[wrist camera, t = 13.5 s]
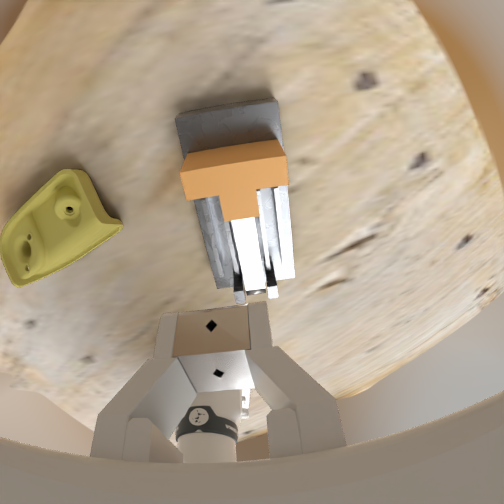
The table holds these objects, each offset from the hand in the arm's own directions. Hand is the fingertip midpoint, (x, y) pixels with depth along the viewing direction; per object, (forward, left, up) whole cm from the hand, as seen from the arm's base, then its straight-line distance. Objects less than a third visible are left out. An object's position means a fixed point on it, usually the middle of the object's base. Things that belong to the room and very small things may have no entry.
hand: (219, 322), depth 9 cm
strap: (-15, 0, -25) cm, 29 cm away
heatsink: (-11, 0, -31) cm, 33 cm away
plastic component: (-9, +27, -32) cm, 42 cm away
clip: (-6, 0, -28) cm, 29 cm away
